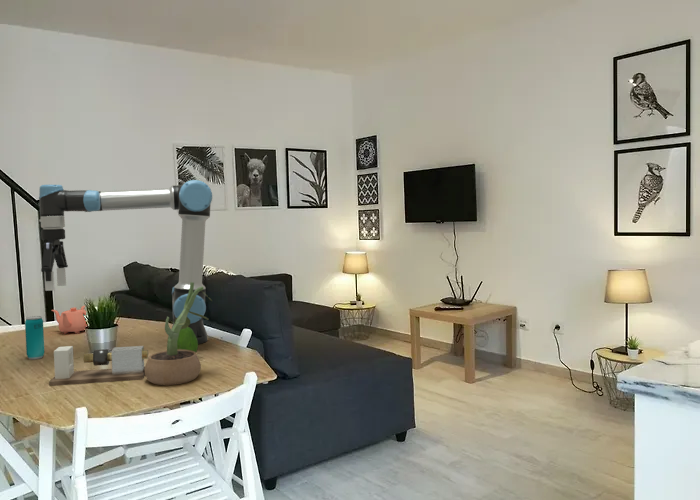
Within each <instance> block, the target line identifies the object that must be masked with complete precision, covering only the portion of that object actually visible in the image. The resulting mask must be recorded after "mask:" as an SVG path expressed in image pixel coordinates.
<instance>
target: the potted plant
mask: <svg viewBox="0 0 700 500" xmlns="http://www.w3.org/2000/svg"><path fill="white" fill-rule="evenodd" d="M193 289H194V283H193V282H190V288H189V293H188V296H187V298H186V301H185V305H184V309H183V311H182V313H181V314H180V315H179V317H177V318H176V319H175V324H174V326H173V325H172V326H173V327H171V328H170V325H169V322H170V323H172V324H173V323H174V322H173V321H170V316H166V319H165V323H164V331H165V333H166V334H167V336H168V337H167V343H166V350H161V351H157V352H153V353H151V354H150V355H148V359H146V360H147V361H146V363H145V364H144V367H145V376H144V377H146V380H147V381H148V382H150V383H152V384H154V385H157V386H158V385H159V386H172V385H173V386H175V385H182V384H186V383H188V382H192V381H193V380H196V378H197V377H198V376H199V375H200V372H201V369H202V366H201V365H202V364H201V361H200V359H199V357H198V354H197V351H196V352H194V351H191V350H181V349H180V350H177V340H178V336H179V332H180V329H184V328H187V327H188V326H189V325H190V319H189V318H188V317H187V315H188V313H191V314H194V315H197V316H200V317H202V318H203V319H205V320H209V318H208V317H207V316H203V315H200V314H197V313H194V312H191V311H189V310H190V309H191V307H192V305H193V303H194V300H195V298H196V295H197V294H198V292H200V291H201V290H204V289H203V286H202V287H199V288H197V289H196V290H195V291H194V292H193ZM203 293H204V292H203ZM204 294H205V297H207V298H208V299H209V301H210V302H213V300H212V299H211V298H210V297H208V295H207V294H206V292H205V293H204Z"/></svg>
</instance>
